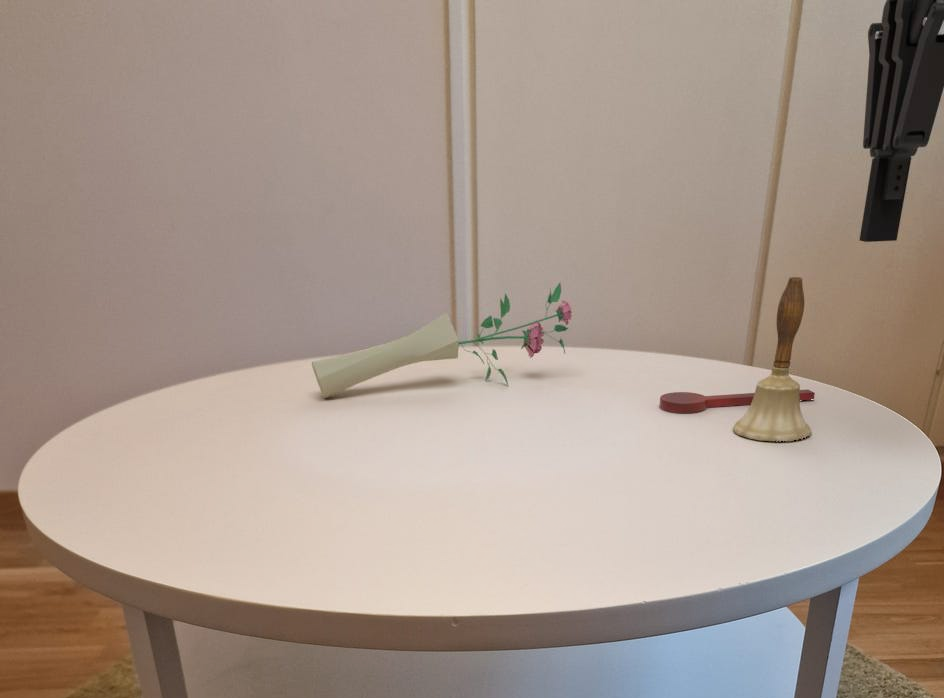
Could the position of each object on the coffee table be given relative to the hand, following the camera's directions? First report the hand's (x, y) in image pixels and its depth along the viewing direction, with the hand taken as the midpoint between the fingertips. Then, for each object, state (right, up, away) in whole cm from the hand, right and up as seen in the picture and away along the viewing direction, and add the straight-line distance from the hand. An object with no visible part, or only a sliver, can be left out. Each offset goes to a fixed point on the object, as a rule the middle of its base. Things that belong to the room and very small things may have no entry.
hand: (877, 240), depth 79 cm
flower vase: (-40, -1, +42) cm, 58 cm away
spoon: (-4, -7, +30) cm, 31 cm away
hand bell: (-3, -13, +19) cm, 23 cm away
